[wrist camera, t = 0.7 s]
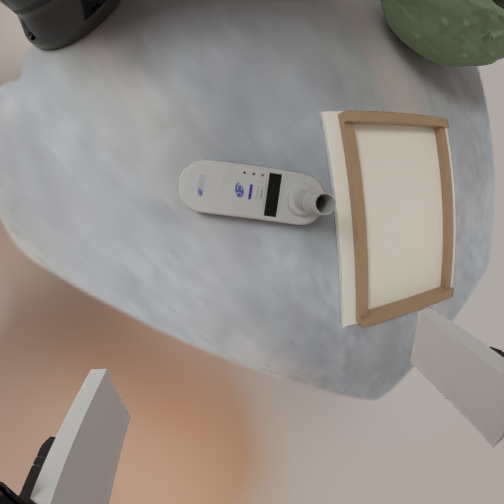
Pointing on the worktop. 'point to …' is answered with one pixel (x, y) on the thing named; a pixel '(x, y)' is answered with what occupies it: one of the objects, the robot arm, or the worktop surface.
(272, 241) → the worktop surface
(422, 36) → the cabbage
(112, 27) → the worktop surface
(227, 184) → the electronic device
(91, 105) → the worktop surface
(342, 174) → the wooden framed canvas
